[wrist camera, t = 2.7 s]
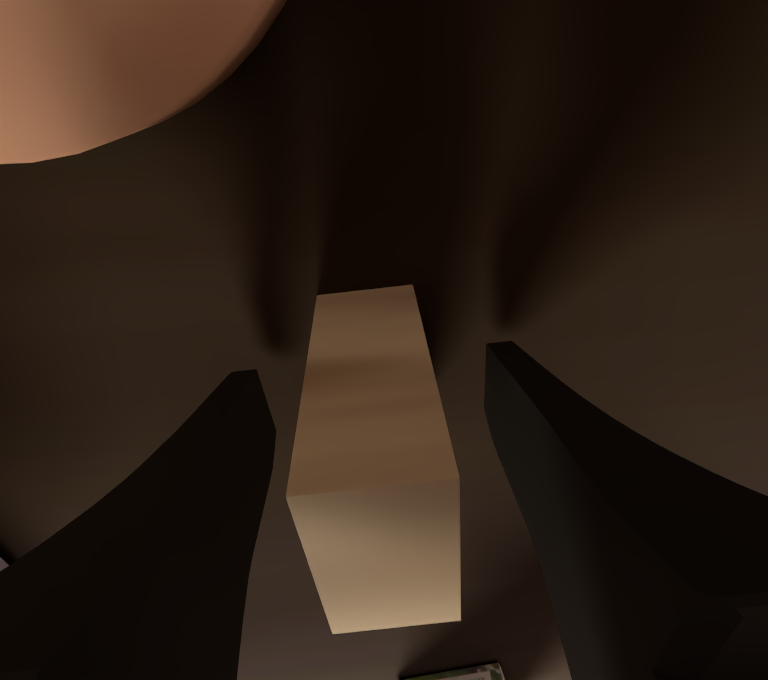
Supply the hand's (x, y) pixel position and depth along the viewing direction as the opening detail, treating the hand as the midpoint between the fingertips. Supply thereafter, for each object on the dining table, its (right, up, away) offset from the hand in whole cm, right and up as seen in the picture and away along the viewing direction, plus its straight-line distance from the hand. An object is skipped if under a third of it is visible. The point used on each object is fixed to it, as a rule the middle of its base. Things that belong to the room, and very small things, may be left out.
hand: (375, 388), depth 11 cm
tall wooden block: (0, +1, +1) cm, 1 cm away
